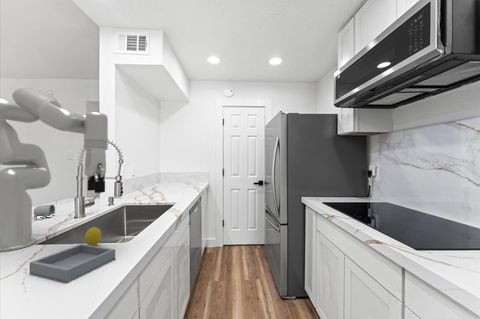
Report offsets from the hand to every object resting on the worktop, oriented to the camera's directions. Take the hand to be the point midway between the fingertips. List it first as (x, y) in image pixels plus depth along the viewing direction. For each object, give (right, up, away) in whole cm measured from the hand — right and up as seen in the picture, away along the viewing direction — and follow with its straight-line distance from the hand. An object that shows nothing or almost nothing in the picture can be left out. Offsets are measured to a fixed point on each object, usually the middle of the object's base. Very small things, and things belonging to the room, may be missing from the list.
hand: (96, 191), depth 84 cm
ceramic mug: (-64, -24, +51) cm, 86 cm away
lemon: (-4, -23, +5) cm, 24 cm away
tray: (+1, -23, -12) cm, 25 cm away
